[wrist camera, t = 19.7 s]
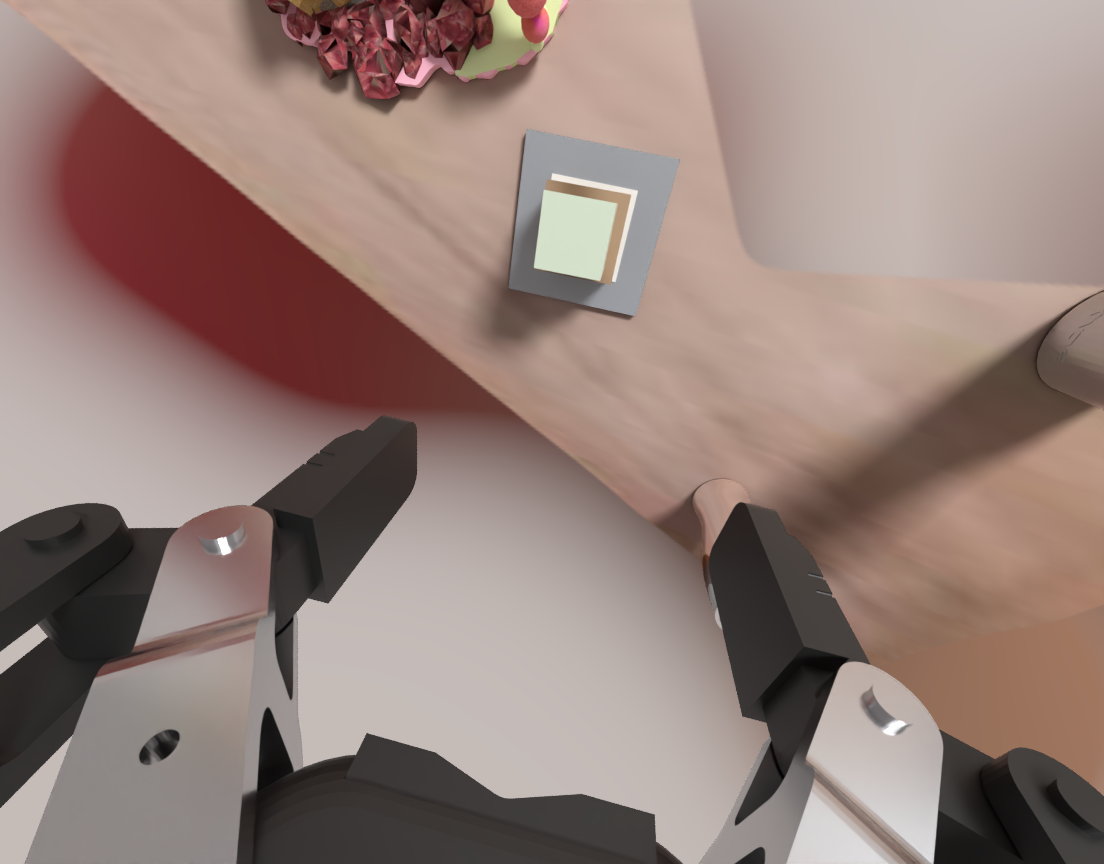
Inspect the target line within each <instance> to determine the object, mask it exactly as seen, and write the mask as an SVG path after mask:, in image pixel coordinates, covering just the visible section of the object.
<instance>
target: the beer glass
mask: <svg viewBox="0 0 1104 864" xmlns="http://www.w3.org/2000/svg"><path fill="white" fill-rule="evenodd" d="M739 502H743V503H747V504H750V497H749V494H748V492H747V490H746V489H745V487H744V486H742V485H741V484H740V483H738V482H736V481H733V480H729V479H716V480H712V481H709V482H706V483H705V484H703V485H701V486H700V487H699V488H698V489H697V490H696V492H695V493H694V495H693V499H692V505H693V508H694V511H695V513H696V515H697V516H698V518H699V520H700V523H701V528H702V568H703V574H704V580H705V584H706V588H707V592H708V595H709V598H710V602H711V605H712V608H713V611H714V614H715V619H716V622H717V624H718V626H719V627H720V628H721V629H722V625H721V621H720V617H719V612H718V608H717V604H716V599H715V595H714V591H713V586H712V582H711V578H710V573H709V557H710V552H711V549H712V547H713V545H714V543H715V541H716V539H717V537H718V535H719V534H720V532H721V530H722V528H723V526H724V525H725V523H726V521H727V519H728V517H729V515H730V514H731V512H732V510H733V508H734V507H735V506H736V504H738V503H739Z"/></svg>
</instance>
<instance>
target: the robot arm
mask: <svg viewBox="0 0 1104 864" xmlns="http://www.w3.org/2000/svg"><path fill="white" fill-rule="evenodd" d="M1037 370H1038V373H1039V375H1040V377H1041V379H1042V380H1043V381H1044V382H1045V383H1046V384H1047V385H1048V386H1049V387H1051V388H1054V389H1056V390H1058V391H1060V392H1062V393H1065V394H1067V395H1070V396H1072V397H1074V398H1077V399H1079V400H1081V401H1084V402H1086V403H1088V404H1091V405H1093V406H1095V407H1098V408H1099V409H1102V410H1104V291H1103V292H1101V293H1099V294H1097V295H1094V296H1092V297H1091V298H1089V299H1087V300H1086V301H1084V302H1083V303H1081V304H1079V305H1078V306H1076V307H1075V308H1074V309H1072V310H1071V311H1070V312H1069V313H1067V314H1066V315H1065V316H1063V317H1062V319H1061V320H1060V321H1059V322H1058V323H1057V324H1056V325H1055V326H1054V327H1053V328H1052V329H1051V330H1050V332H1049V333H1048V335H1047V336H1046V337H1045V339H1044V340H1043V343H1042V345H1041V347H1040V349H1039V351H1038V357H1037ZM416 476H417V428H416V425H415V423H414V422H410V421H406V420H401V419H397V418H393V417H389V416H385V415H384V416H381V417H380V418H378V419H377V420H376V421H375V422H374V423H372V424H371V425H370V426H369V427H368V428H366V429H365V430H364V431H361V430H355V431H352V432H350V433H348V434H345V435H343V436H340V437H338V438H336V439H334V440H333V441H332V442H331V443H329V444H328V445H327V446H325V447H324V448H323V449H322V450H320V453H319V454H318V453H317V454H316V455H314V456H313V457H312V458H310V459H309V460H308V461H307V463H306V465H305V464H303V465H302V466H300V467H299V468H298V469H297V470H295V471H294V472H293V473H292V474H290V475H289V476H288V477H286V478H285V479H284V480H283V481H282V482H281V483H279V484H278V485H276V486H275V487H274V488H273V489H272V490H270V491H269V492H268V493H266V494H265V495H264V496H263V497H261V498H260V499H259V500H258V501H256V502H255V503H254V504H253V505H251V506H247V505H237V506H228V507H223V508H218V509H215V510H211V511H209V512H206V513H203V514H201V515H199V516H197V517H195V518H193V519H191V520H190V521H188V522H186V523H185V524H184V525H183V526H181V527H180V528H128V527H127V526H126V524H125V521H124V520H123V518H122V516H121V514H120V512H119V511H118V510H117V509H116V508H114V507H112V506H109V505H105V504H98V503H85V504H75V505H69V506H64V507H59V508H55V509H51V510H48V511H44V512H42V513H39V514H36V515H33V516H31V517H29V518H26V519H24V520H22V521H20V522H18V523H16V524H14V525H12V526H10V527H8V528H6V529H4V530H3V531H1V532H0V651H1V650H3V649H4V648H6V647H7V646H8V645H10V644H11V643H12V642H13V641H15V640H16V639H18V638H19V637H20V636H22V635H23V634H24V633H25V632H27V631H28V630H30V629H31V628H32V627H33V626H35V625H36V624H38V625H39V626H40V628H41V629H42V630H43V631H44V632H45V634H46V635H47V636H48V637H47V638H46V639H45V640H44V641H42V642H41V643H40V644H38V645H37V646H36V647H35V648H33V649H32V650H31V651H30V652H29V653H27V654H26V655H25V656H23V657H22V658H21V659H19V660H18V661H17V662H16V663H14V664H13V665H12V666H11V667H9V668H8V669H7V670H6V671H4V672H3V673H2V674H0V808H1V807H2V806H3V805H4V804H5V803H6V802H7V801H8V800H9V799H10V798H11V797H12V796H13V795H14V794H15V792H16V791H18V790H19V789H20V788H21V787H22V786H23V785H24V784H25V783H26V782H27V780H28V779H29V778H30V777H31V776H32V775H33V774H34V773H35V772H36V771H37V770H38V769H39V768H40V767H41V766H42V765H43V764H44V763H45V762H46V761H47V760H48V759H49V758H50V757H51V756H52V755H53V754H54V753H55V752H56V751H57V750H58V749H59V748H60V747H61V746H62V745H63V744H64V743H65V742H66V741H67V740H68V739H69V738H70V737H71V736H72V735H73V736H72V739H71V742H70V744H69V747H68V749H67V752H66V755H65V757H64V760H63V763H62V766H61V768H60V771H59V774H58V776H57V779H56V781H55V784H54V787H53V789H52V792H51V795H50V797H49V800H48V803H47V805H46V808H45V811H44V814H43V816H42V819H41V822H40V824H39V827H38V829H37V832H36V835H35V837H34V840H33V843H32V845H31V848H30V850H29V853H28V856H27V858H26V861H25V864H682V862H680V860H678V859H677V858H676V857H675V856H674V855H673V854H671V853H670V852H669V851H668V850H667V849H666V848H664V847H663V846H662V845H660V844H659V843H657V842H656V834H655V815H654V814H650V813H647V812H643V811H640V810H636V809H633V808H629V807H626V806H622V805H619V804H615V803H611V802H608V801H604V800H600V799H597V798H594V797H590V796H587V795H583V794H576V795H561V796H545V797H530V798H515V799H507V798H502V797H499V796H498V795H496V794H494V793H493V792H491V791H490V790H488V789H487V788H486V787H484V786H482V785H481V784H480V783H478V782H477V781H475V780H474V779H472V778H471V777H470V776H468V775H467V774H465V773H464V772H463V771H461V770H460V769H458V768H457V767H455V766H454V765H453V764H451V763H450V762H448V761H447V760H445V759H444V758H442V757H441V756H440V755H438V754H437V753H435V752H431V751H428V750H424V749H421V748H417V747H413V746H410V745H407V744H403V743H399V742H396V741H392V740H389V739H385V738H382V737H378V736H375V735H371V734H368V733H367V734H366V736H365V738H364V740H363V742H362V744H361V746H360V748H359V750H358V752H357V754H356V755H348V756H342V757H337V758H333V759H328V760H324V761H321V762H318V763H315V764H312V765H309V766H306V767H303V756H302V742H301V733H300V726H299V718H298V619H297V613H296V612H297V611H298V610H299V608H300V607H301V606H302V605H303V604H304V602H305V601H306V600H307V599H308V598H309V599H313V600H317V601H321V602H324V603H329V602H330V601H331V599H332V598H333V597H334V595H335V594H336V592H337V591H338V590H339V588H340V587H341V586H342V585H343V583H344V582H345V581H346V579H347V578H348V576H349V575H350V574H351V572H352V571H353V570H354V569H355V567H356V566H357V565H358V563H359V562H360V561H361V559H362V558H363V557H364V555H365V554H366V552H367V551H368V550H369V548H370V547H371V546H372V545H373V543H374V542H375V540H376V539H377V538H378V537H379V535H380V534H381V533H382V531H383V530H384V528H385V527H386V526H387V524H388V523H389V522H390V520H391V519H392V518H393V516H394V515H395V514H396V513H397V511H398V510H399V509H400V507H401V506H402V505H403V503H404V502H405V501H406V499H407V498H408V496H409V495H410V493H411V492H412V490H413V487H414V484H415V480H416ZM709 573H710V578H711V582H712V586H713V591H714V595H715V599H716V604H717V608H718V612H719V617H720V621H721V625H722V630H723V634H724V638H725V643H726V647H727V651H728V656H729V660H730V664H731V669H732V673H733V678H734V682H735V686H736V691H737V695H738V699H739V704H740V708H741V712H742V716H743V717H747V718H751V719H755V720H759V721H762V722H766V723H767V726H768V730H769V733H770V737H769V738H768V739H767V740H766V741H765V742H764V744H763V745H762V748H761V750H760V752H759V754H758V756H757V758H756V760H755V762H754V764H753V766H752V768H751V771H750V773H749V775H748V777H747V779H746V781H745V783H744V785H743V787H742V789H741V791H740V794H739V796H738V798H737V800H736V802H735V804H734V806H733V808H732V810H731V812H730V814H729V816H728V819H727V821H726V823H725V825H724V827H723V829H722V830H721V832H720V834H719V835H718V837H717V839H716V840H715V841H714V843H713V844H712V845H711V847H710V848H709V849H708V851H707V852H706V853H705V855H704V856H703V858H702V859H701V861H700V863H699V864H1104V796H1103V795H1102V794H1101V793H1100V792H1098V791H1097V790H1096V789H1095V788H1094V787H1093V786H1091V785H1090V784H1089V783H1088V782H1087V781H1085V780H1084V779H1083V778H1082V777H1080V776H1079V775H1077V774H1076V773H1075V772H1073V771H1072V770H1070V769H1069V768H1068V767H1066V766H1065V765H1063V764H1062V763H1060V762H1058V761H1056V760H1055V759H1053V758H1051V757H1049V756H1047V755H1045V754H1043V753H1041V752H1038V751H1035V750H1032V749H1028V748H1015V749H1012V750H1011V751H1009V752H1007V753H1005V754H1003V755H1002V756H1000V757H998V758H996V759H993V758H991V757H990V756H988V755H986V754H984V753H982V752H980V751H978V750H977V749H975V748H973V747H971V746H969V745H967V744H965V743H963V742H961V741H960V740H958V739H956V738H954V737H952V736H951V735H949V734H947V733H945V732H943V731H941V730H939V729H938V727H937V725H936V723H935V722H934V720H933V718H932V716H931V715H930V714H929V712H928V711H927V709H926V708H925V707H924V706H923V704H922V703H921V702H920V701H919V700H918V699H917V698H916V697H915V696H914V695H913V694H912V692H910V691H909V690H908V689H907V688H906V687H905V686H904V685H903V684H901V683H900V682H898V681H897V680H896V679H895V678H893V677H892V676H890V675H889V674H887V673H886V672H884V671H882V670H880V669H878V668H876V667H874V666H872V665H871V664H870V662H869V661H868V659H867V657H866V655H865V653H864V651H863V649H862V647H861V646H860V644H859V642H858V640H857V638H856V636H855V634H854V633H853V631H852V629H851V627H850V625H849V623H848V621H847V620H846V618H845V616H844V614H843V612H842V610H841V608H840V607H839V605H838V603H837V601H836V599H835V598H833V597H832V592H831V590H830V588H829V586H828V584H827V582H826V581H825V580H823V575H822V573H821V571H820V569H819V567H818V566H817V564H816V562H815V560H814V558H813V556H812V555H811V554H810V553H809V552H808V551H807V550H806V549H805V548H804V547H803V546H802V545H801V544H800V542H799V541H798V540H797V539H796V538H795V537H793V536H789V535H788V533H787V531H786V529H785V527H784V525H783V523H782V521H781V519H780V517H779V515H778V514H777V512H776V511H775V510H772V509H768V508H764V507H760V506H756V505H752V504H747V503H743V502H739V503H738V504H736V506H735V507H734V508H733V510H732V512H731V514H730V515H729V517H728V519H727V521H726V523H725V525H724V526H723V528H722V530H721V532H720V534H719V535H718V537H717V539H716V541H715V543H714V545H713V547H712V549H711V552H710V557H709Z"/></svg>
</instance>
